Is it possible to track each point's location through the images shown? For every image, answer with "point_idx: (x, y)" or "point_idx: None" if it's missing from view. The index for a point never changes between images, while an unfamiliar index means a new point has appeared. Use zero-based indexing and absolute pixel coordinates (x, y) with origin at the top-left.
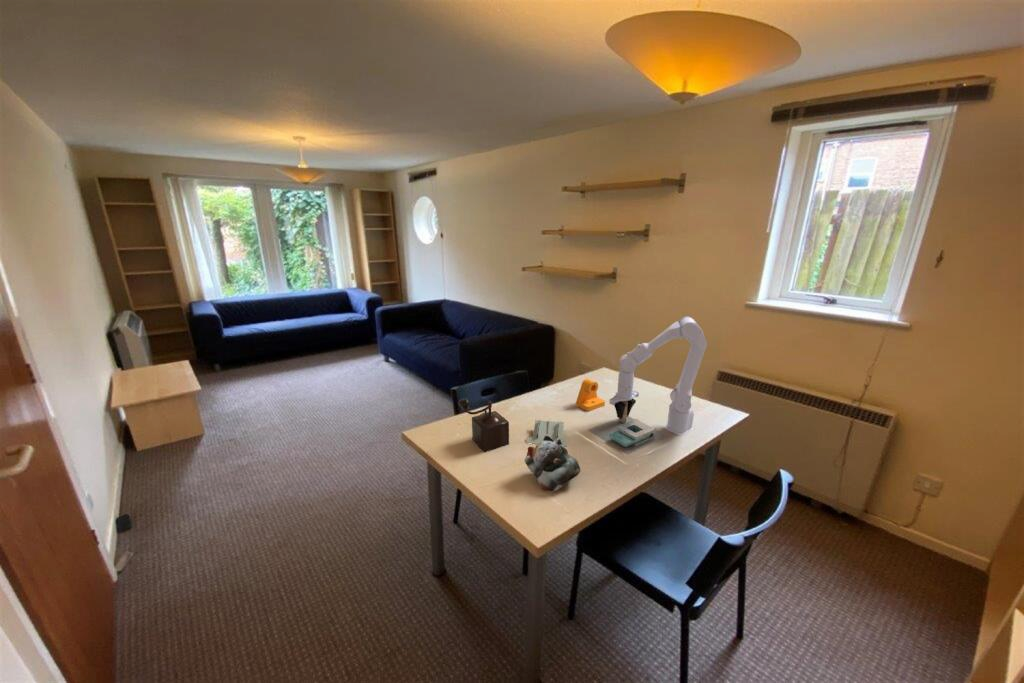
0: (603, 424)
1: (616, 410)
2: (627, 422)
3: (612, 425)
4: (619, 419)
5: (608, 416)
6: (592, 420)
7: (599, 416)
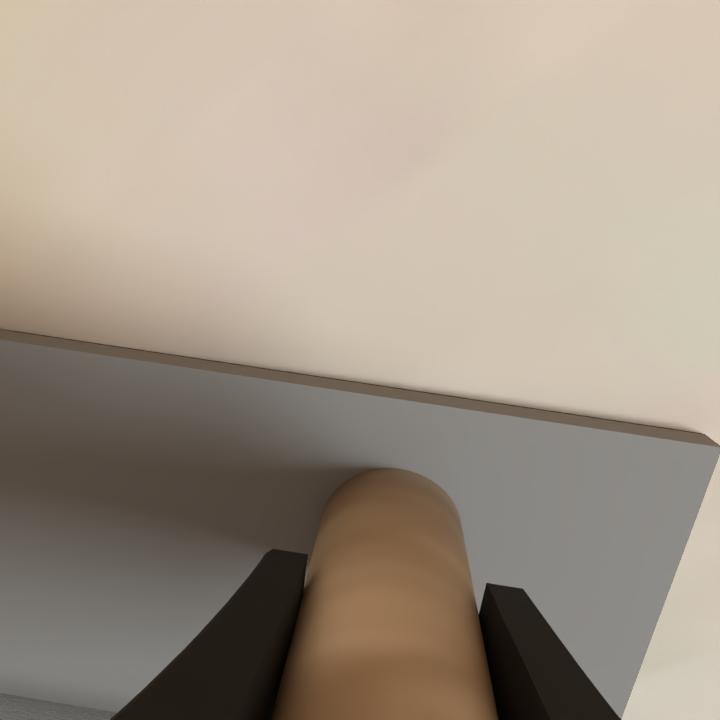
0: (25, 362)
1: (171, 687)
2: None
3: (143, 486)
4: (312, 553)
5: (436, 174)
6: (10, 53)
7: (278, 27)
